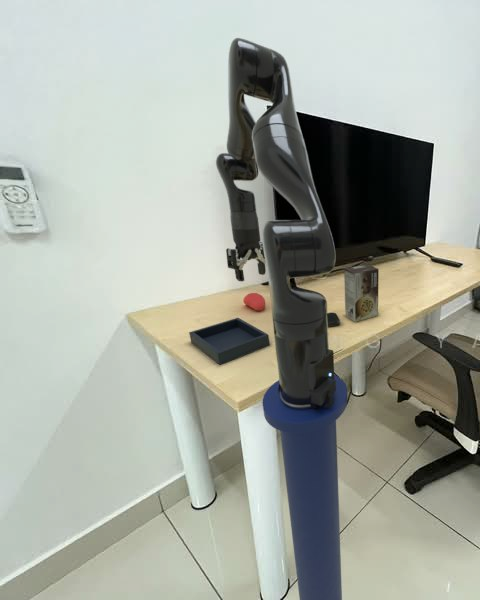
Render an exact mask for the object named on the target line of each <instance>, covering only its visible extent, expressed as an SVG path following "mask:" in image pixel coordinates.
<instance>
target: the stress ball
mask: <svg viewBox="0 0 480 600" xmlns="http://www.w3.org/2000/svg"><path fill="white" fill-rule="evenodd" d="M242 302H243V304H244V305H245V306H247V307H250V308H252V309H253V310H255V311H257V312H260V311H263V310H264V308H265V307H266V299H265V298H264V296H263V295H262V294H260V293H257V292H249V293H248V294H246V295H245V296H244V297H243V300H242Z"/></svg>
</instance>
